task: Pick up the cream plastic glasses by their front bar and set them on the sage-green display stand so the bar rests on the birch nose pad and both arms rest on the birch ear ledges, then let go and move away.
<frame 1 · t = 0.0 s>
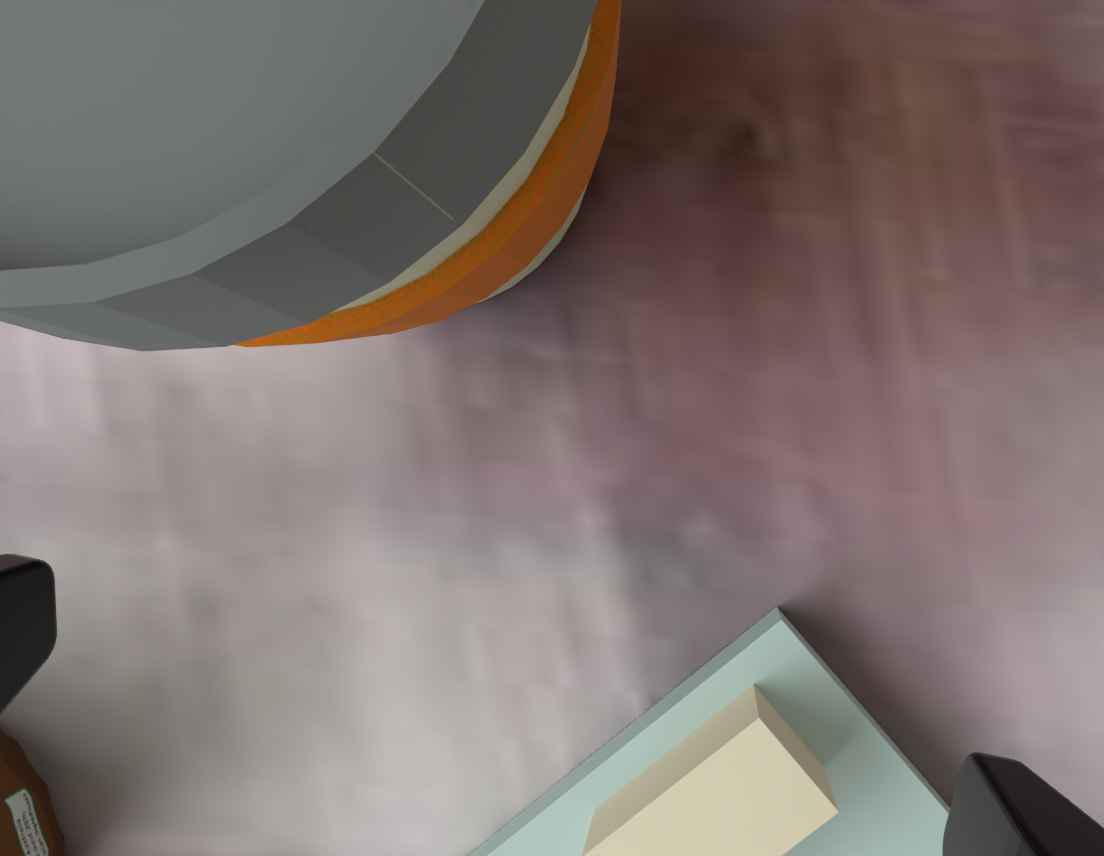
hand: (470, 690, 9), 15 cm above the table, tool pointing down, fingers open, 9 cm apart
reusable coffee cup: (429, 145, 25), on the table
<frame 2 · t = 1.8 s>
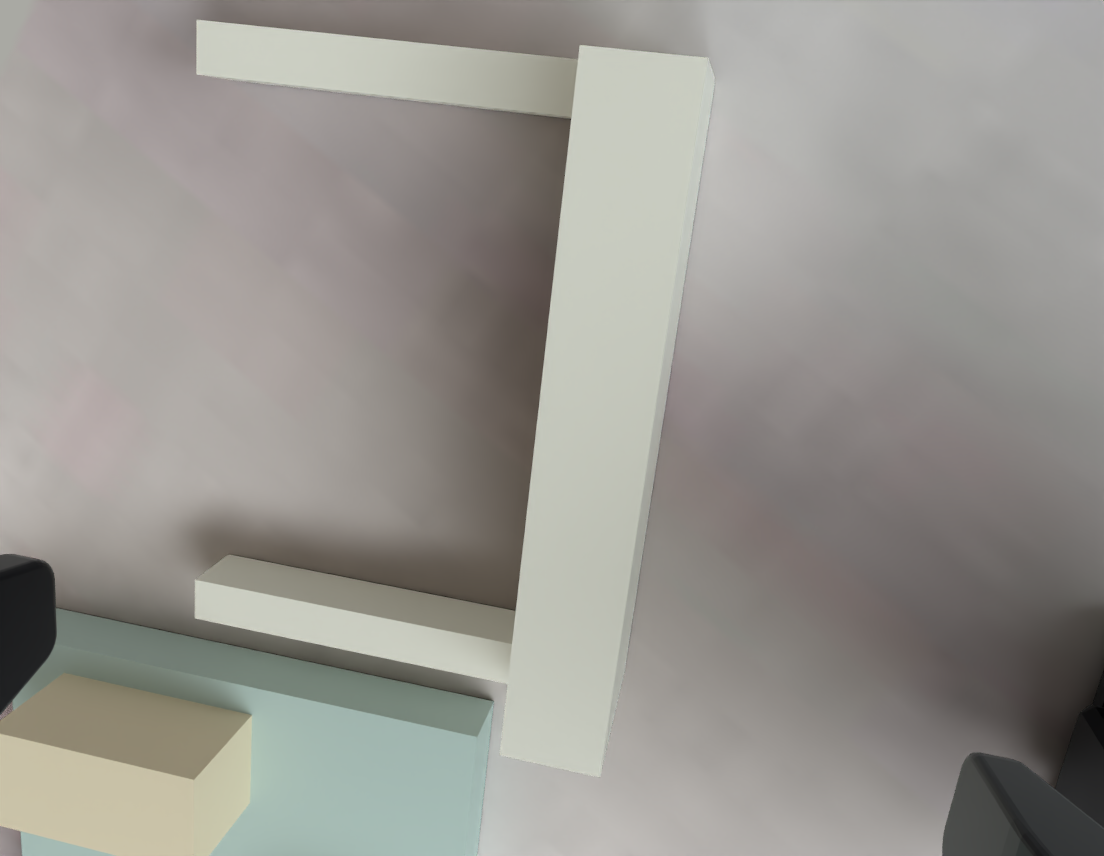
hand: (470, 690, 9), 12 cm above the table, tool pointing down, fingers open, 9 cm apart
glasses: (619, 396, 20), on the table
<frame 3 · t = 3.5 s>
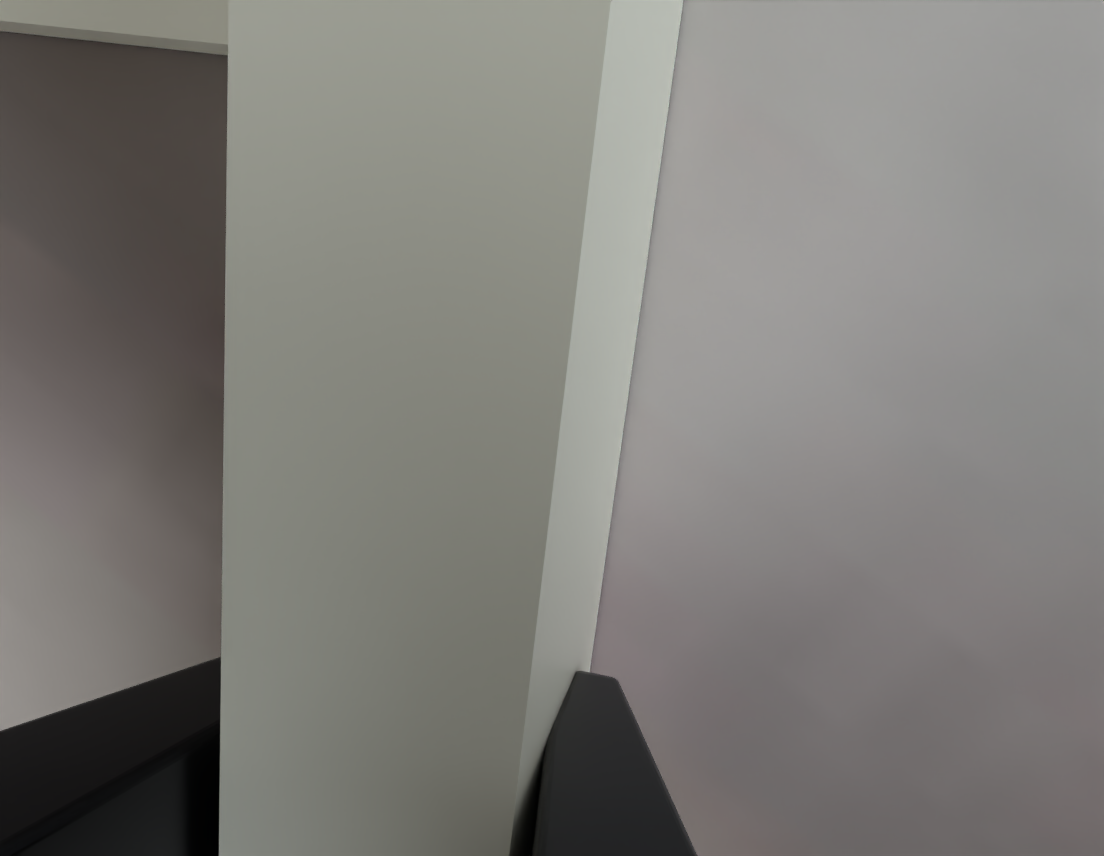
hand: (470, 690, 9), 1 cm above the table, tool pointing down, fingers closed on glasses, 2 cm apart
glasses: (501, 630, 10), on the table, touching gripper
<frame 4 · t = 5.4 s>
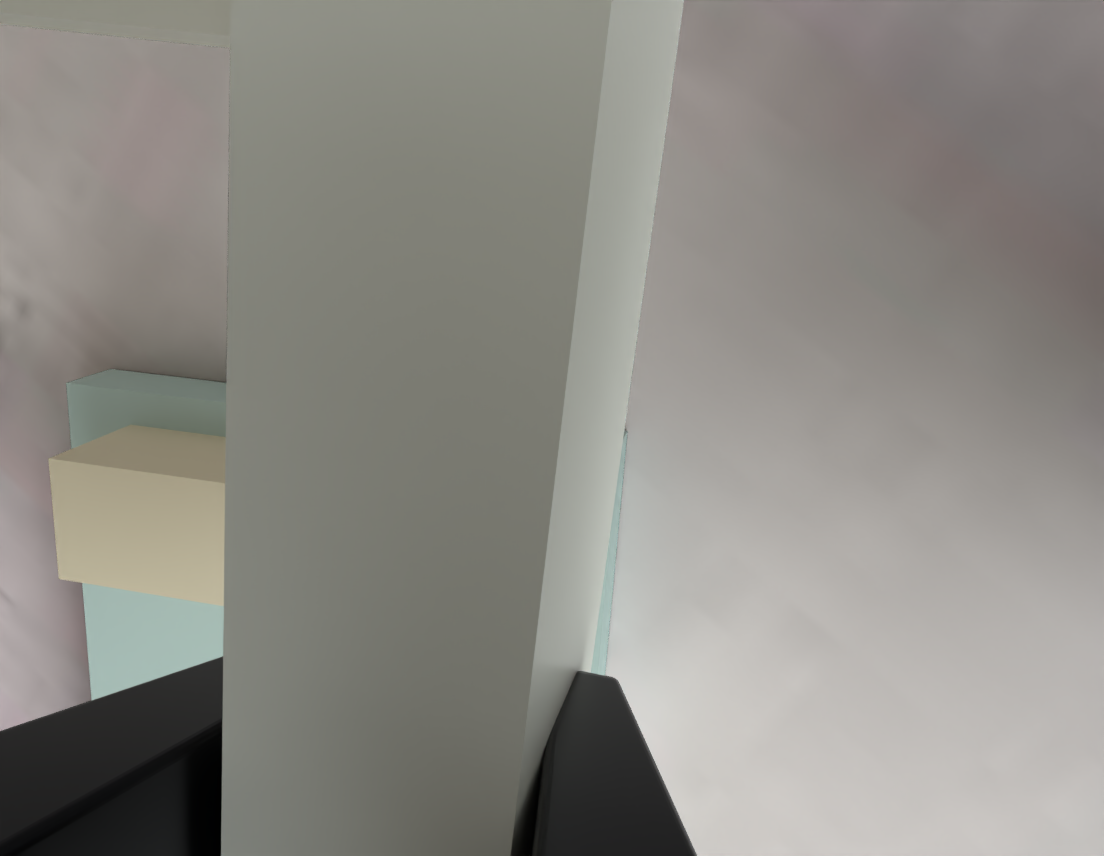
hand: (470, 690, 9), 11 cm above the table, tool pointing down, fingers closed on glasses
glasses: (503, 624, 10), point 10 cm above the table, touching gripper
display stand: (353, 716, 23), on the table
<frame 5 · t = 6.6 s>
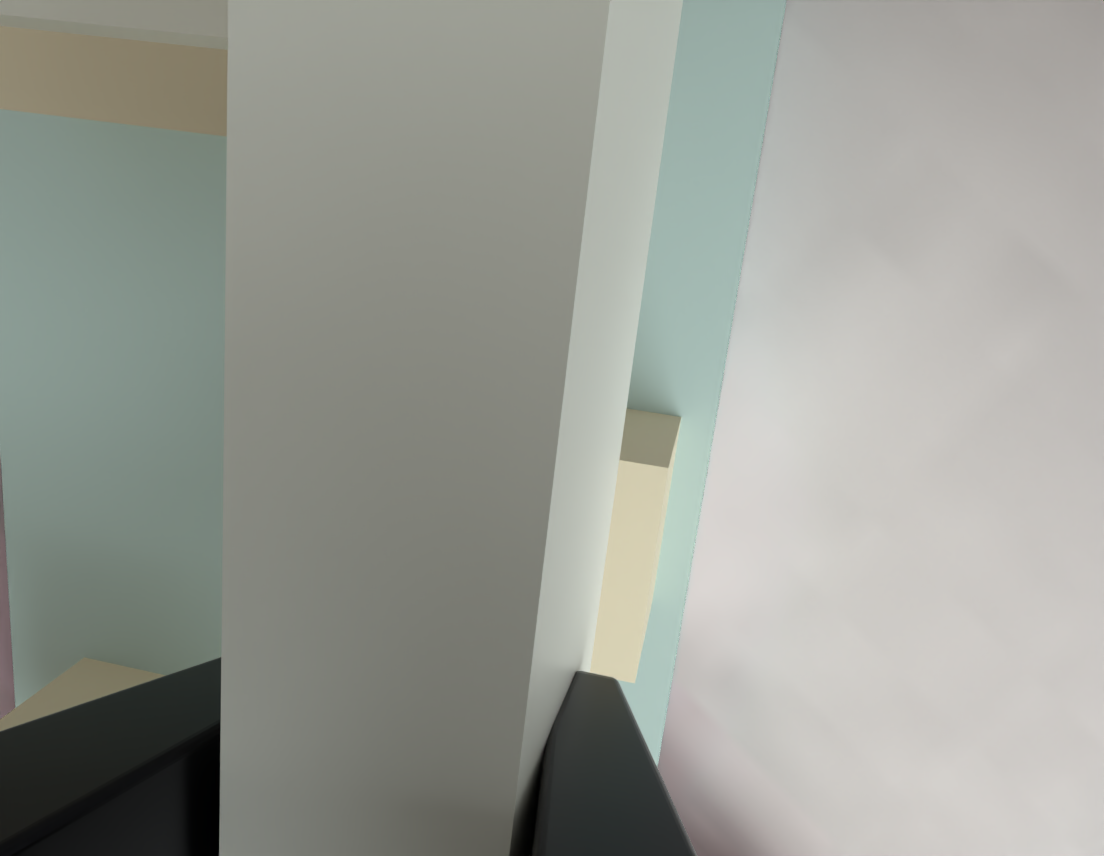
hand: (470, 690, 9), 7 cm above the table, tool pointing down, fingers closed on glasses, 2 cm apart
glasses: (502, 625, 10), point 6 cm above the table, touching gripper
display stand: (362, 427, 17), on the table
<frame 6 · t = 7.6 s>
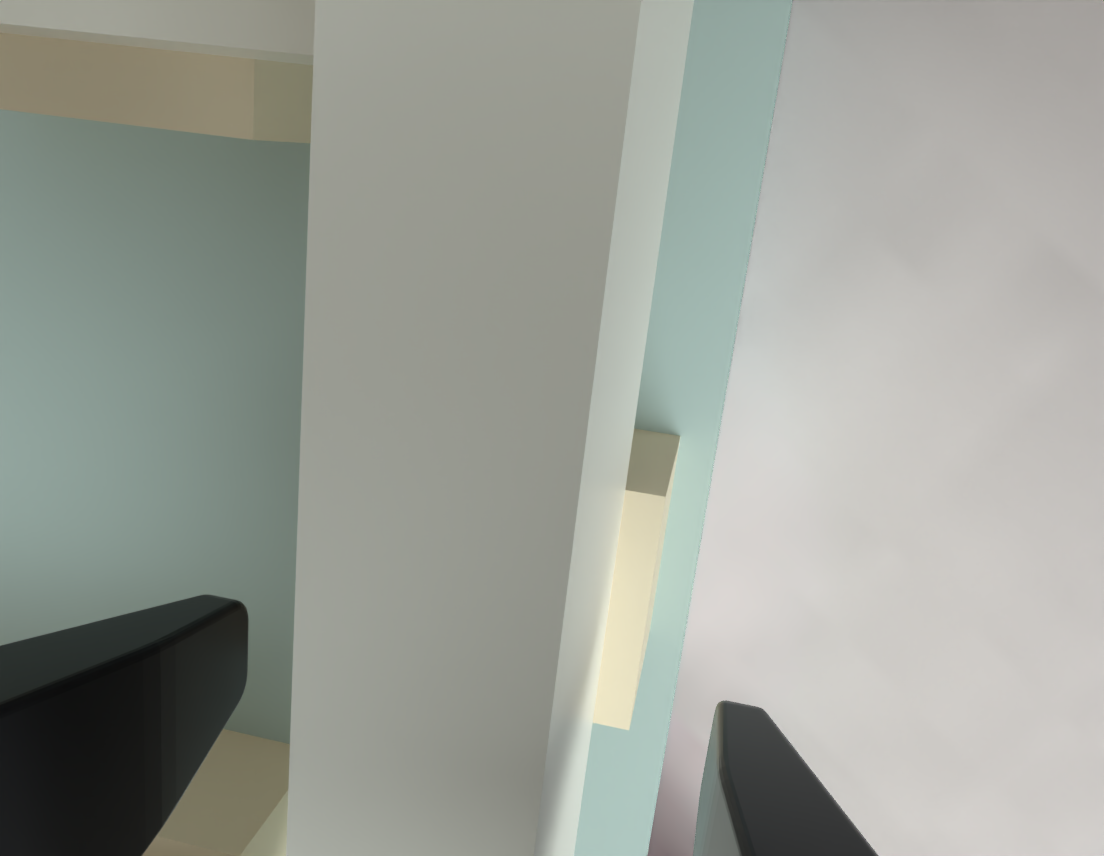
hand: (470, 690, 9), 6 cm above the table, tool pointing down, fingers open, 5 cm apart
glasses: (525, 588, 11), point 4 cm above the table, touching display stand
display stand: (339, 443, 15), on the table
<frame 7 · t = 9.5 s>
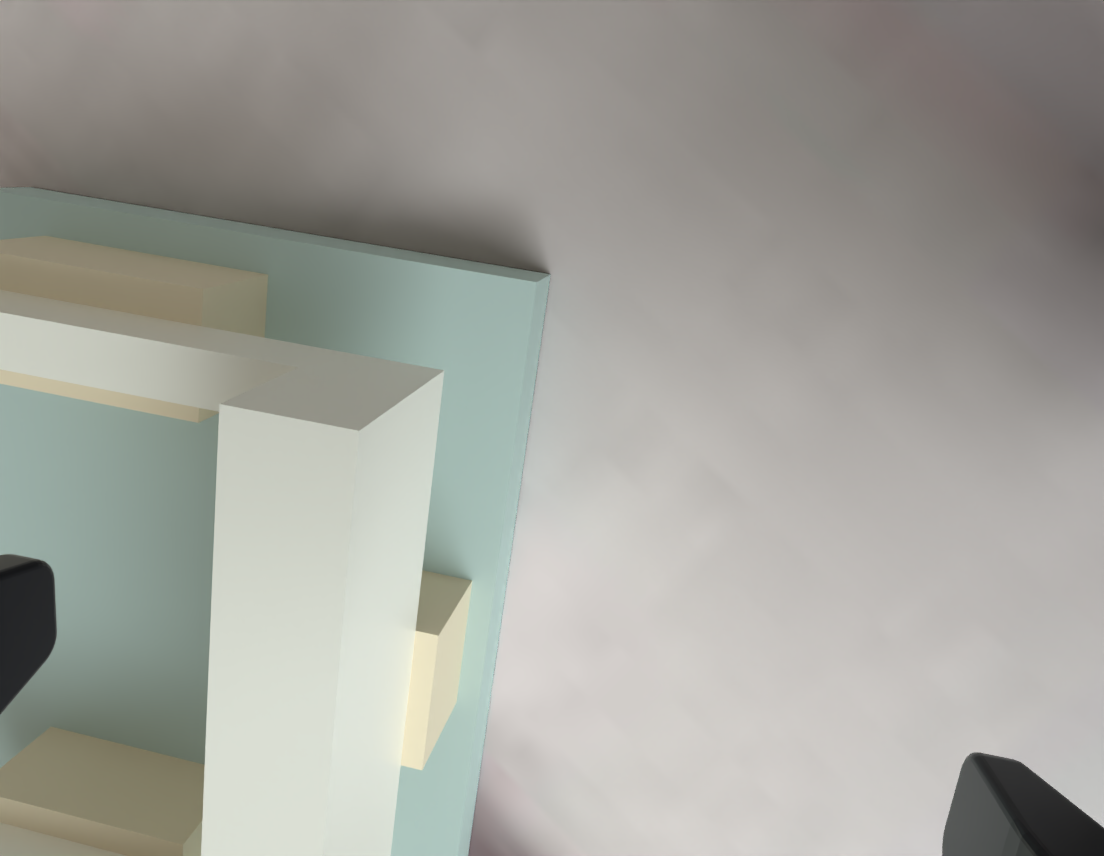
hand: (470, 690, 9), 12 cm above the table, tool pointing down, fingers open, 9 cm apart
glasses: (359, 684, 18), point 4 cm above the table, touching display stand
display stand: (260, 564, 23), on the table
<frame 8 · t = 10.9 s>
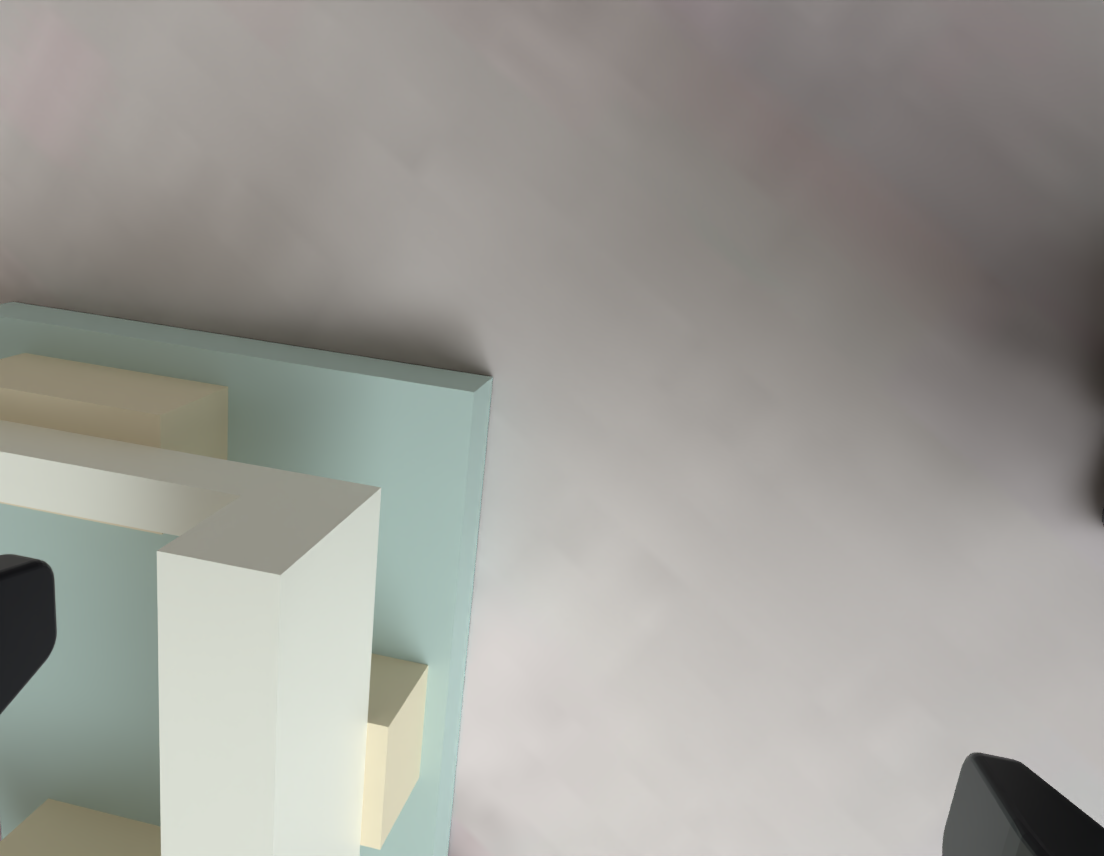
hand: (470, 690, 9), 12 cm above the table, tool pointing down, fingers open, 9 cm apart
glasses: (318, 771, 20), point 4 cm above the table, touching display stand
display stand: (237, 644, 24), on the table
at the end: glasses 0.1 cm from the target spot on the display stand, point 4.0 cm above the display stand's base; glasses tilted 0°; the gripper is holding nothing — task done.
